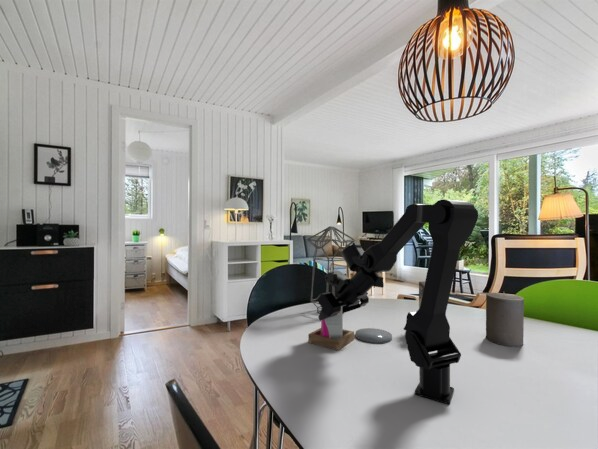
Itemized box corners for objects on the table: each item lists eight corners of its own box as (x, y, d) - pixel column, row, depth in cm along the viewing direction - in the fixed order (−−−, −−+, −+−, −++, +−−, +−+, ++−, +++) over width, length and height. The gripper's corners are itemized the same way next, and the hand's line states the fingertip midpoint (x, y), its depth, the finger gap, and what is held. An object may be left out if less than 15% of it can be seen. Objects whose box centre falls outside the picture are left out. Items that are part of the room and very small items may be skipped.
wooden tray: (339, 350, 84) (339, 341, 84) (308, 342, 90) (308, 334, 90) (353, 339, 93) (353, 331, 93) (324, 333, 98) (324, 325, 98)
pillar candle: (478, 337, 96) (478, 289, 96) (500, 333, 99) (500, 287, 100) (509, 349, 87) (509, 296, 87) (532, 344, 90) (532, 293, 90)
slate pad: (385, 346, 88) (385, 342, 88) (349, 338, 94) (349, 335, 94) (396, 335, 97) (396, 332, 97) (363, 329, 103) (363, 326, 103)
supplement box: (339, 337, 94) (339, 300, 94) (342, 344, 88) (343, 305, 89) (320, 337, 94) (321, 300, 94) (322, 345, 88) (323, 305, 88)
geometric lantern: (303, 312, 123) (304, 226, 124) (329, 306, 134) (330, 226, 135) (332, 321, 112) (333, 225, 113) (358, 313, 122) (359, 226, 123)
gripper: (360, 260, 96) (332, 290, 103) (322, 264, 82) (293, 299, 90) (383, 288, 90) (351, 318, 98) (346, 298, 77) (313, 332, 84)
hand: (328, 316), depth 92 cm, fingers closed on supplement box, 8 cm apart
